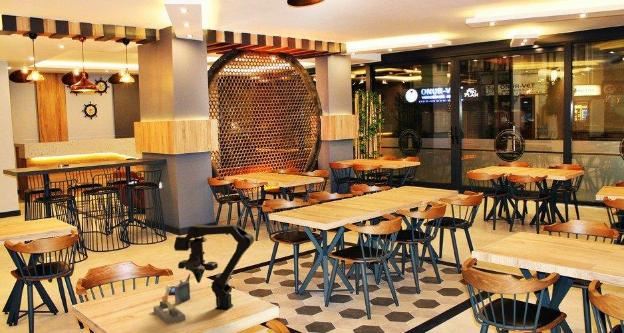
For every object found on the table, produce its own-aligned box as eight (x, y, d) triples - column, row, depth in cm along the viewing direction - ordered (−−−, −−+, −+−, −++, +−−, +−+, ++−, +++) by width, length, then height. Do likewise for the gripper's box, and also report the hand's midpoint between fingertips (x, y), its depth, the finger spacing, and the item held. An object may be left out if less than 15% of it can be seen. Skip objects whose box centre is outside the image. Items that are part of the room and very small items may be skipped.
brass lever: (177, 312, 251) (166, 295, 248) (172, 316, 250) (161, 299, 246) (175, 311, 253) (164, 293, 250) (170, 314, 252) (159, 297, 249)
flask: (177, 304, 272) (176, 283, 271) (173, 303, 273) (172, 282, 272) (191, 298, 279) (190, 278, 278) (187, 298, 281) (186, 277, 280)
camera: (170, 288, 298) (170, 275, 298) (191, 286, 300) (190, 273, 299) (168, 295, 286) (167, 281, 285) (189, 294, 288) (188, 280, 287)
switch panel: (185, 320, 251) (184, 310, 250) (168, 324, 246) (167, 314, 246) (170, 307, 267) (169, 298, 267) (153, 311, 263) (153, 302, 263)
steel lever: (166, 307, 262) (172, 286, 262) (161, 306, 260) (167, 285, 261) (165, 305, 264) (170, 284, 265) (159, 305, 262) (165, 284, 263)
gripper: (170, 254, 260) (172, 286, 262) (205, 256, 254) (207, 289, 255) (183, 248, 271) (185, 279, 272) (217, 250, 264) (219, 282, 266)
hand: (198, 282), depth 266 cm, fingers closed
